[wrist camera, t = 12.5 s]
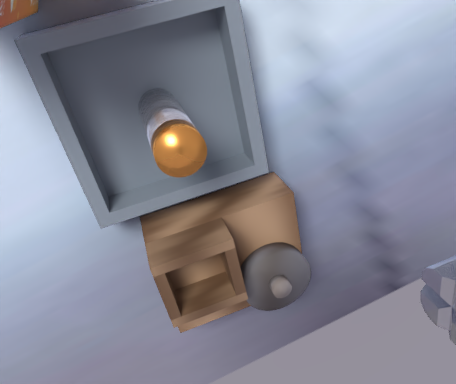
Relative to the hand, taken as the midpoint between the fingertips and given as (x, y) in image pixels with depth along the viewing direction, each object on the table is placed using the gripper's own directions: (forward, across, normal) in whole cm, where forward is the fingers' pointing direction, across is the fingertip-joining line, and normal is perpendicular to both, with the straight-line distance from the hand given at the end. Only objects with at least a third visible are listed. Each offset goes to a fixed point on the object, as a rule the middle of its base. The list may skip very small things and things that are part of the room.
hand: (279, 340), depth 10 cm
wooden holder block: (+23, -2, +14) cm, 26 cm away
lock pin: (+22, 0, 0) cm, 22 cm away
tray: (+23, 0, 0) cm, 23 cm away
